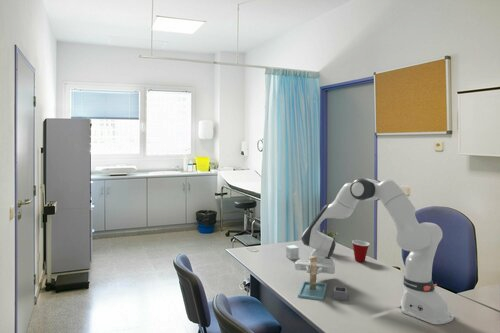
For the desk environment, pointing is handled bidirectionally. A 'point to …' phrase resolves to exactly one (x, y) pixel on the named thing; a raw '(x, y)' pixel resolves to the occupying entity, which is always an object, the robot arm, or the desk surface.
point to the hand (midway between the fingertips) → (313, 271)
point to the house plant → (330, 234)
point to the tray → (312, 291)
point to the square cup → (340, 293)
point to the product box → (292, 252)
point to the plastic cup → (360, 250)
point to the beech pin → (313, 272)
